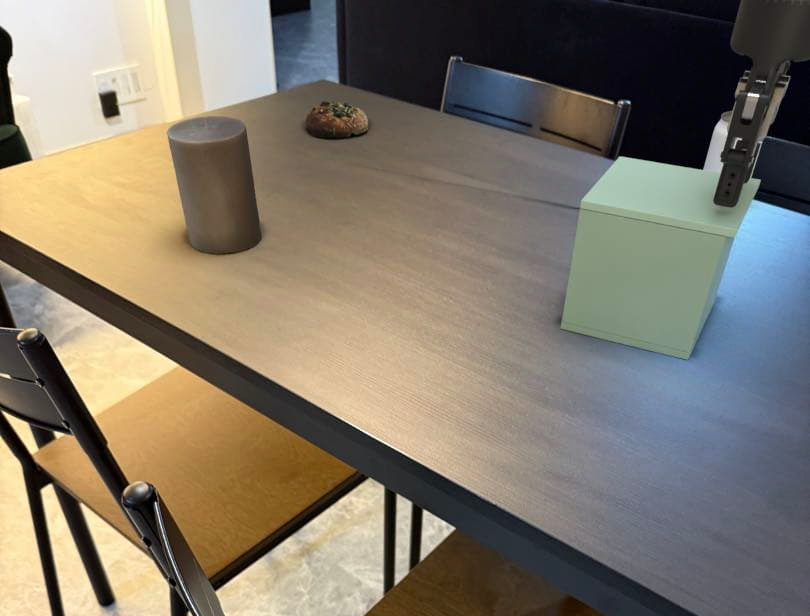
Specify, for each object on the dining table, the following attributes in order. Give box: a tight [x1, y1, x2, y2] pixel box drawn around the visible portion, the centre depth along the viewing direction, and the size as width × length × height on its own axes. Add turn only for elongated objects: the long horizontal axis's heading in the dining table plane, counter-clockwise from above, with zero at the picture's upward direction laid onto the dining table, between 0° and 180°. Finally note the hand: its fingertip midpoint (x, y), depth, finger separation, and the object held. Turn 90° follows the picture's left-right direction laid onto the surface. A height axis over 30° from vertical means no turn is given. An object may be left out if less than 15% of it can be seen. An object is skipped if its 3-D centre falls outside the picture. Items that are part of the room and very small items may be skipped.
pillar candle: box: [166, 115, 263, 255], centre depth 97 cm, size 10×10×15 cm
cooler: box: [560, 207, 735, 361], centre depth 83 cm, size 14×14×13 cm
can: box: [702, 110, 763, 178], centre depth 105 cm, size 6×6×12 cm
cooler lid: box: [579, 149, 762, 239], centre depth 76 cm, size 15×14×5 cm
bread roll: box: [305, 100, 369, 139], centre depth 132 cm, size 11×11×5 cm
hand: (731, 192), depth 75 cm, fingers open, 6 cm apart
